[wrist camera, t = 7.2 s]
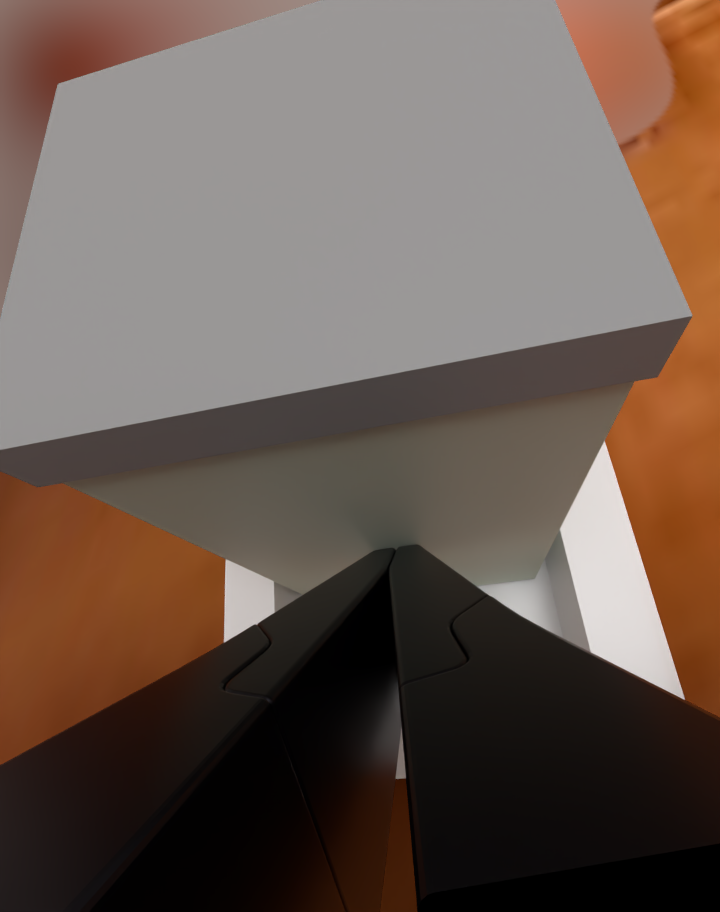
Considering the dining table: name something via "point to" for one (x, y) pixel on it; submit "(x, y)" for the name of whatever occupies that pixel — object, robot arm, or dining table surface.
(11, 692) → the dining table surface
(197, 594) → the dining table surface
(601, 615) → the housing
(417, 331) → the grey upright block
